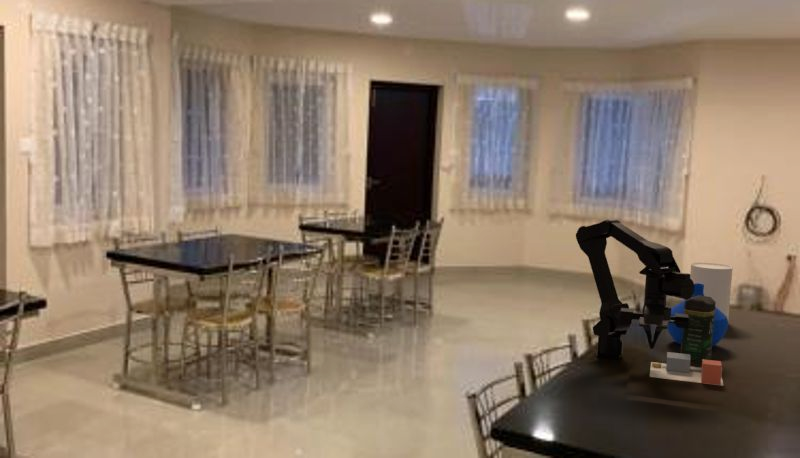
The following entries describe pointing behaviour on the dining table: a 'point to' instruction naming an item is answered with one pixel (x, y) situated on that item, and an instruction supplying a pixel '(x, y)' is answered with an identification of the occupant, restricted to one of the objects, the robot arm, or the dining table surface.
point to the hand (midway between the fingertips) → (651, 348)
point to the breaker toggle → (678, 362)
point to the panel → (677, 373)
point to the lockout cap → (711, 372)
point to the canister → (714, 283)
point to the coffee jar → (699, 328)
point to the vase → (718, 326)
